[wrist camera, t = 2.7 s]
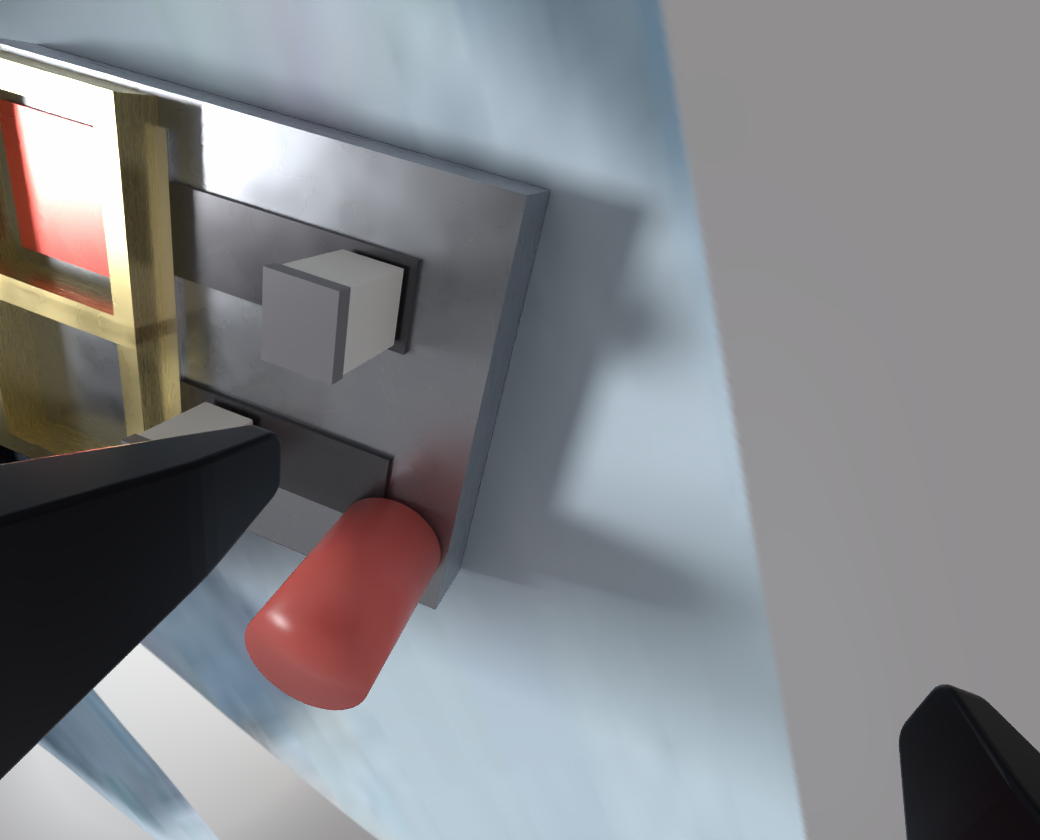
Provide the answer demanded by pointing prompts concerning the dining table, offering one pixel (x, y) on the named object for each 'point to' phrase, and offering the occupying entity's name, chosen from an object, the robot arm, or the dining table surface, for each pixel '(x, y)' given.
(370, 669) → the red rounded cylinder
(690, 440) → the dining table surface
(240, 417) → the block
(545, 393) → the dining table surface
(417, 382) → the panel
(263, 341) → the block
